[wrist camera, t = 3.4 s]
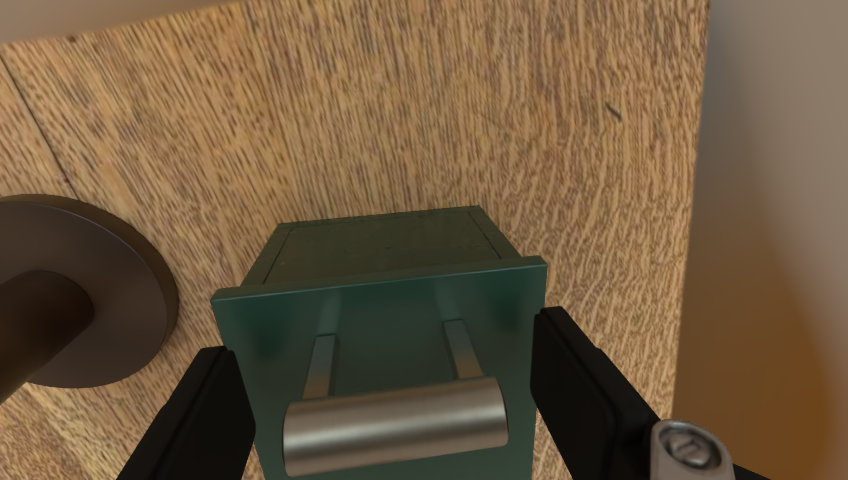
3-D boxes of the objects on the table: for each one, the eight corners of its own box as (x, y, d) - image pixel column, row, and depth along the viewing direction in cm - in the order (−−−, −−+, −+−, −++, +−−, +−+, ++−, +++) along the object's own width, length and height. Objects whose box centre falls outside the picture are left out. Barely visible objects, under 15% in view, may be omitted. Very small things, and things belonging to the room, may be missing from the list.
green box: (278, 223, 19) (224, 309, 12) (479, 205, 20) (537, 275, 13) (317, 408, 24) (295, 548, 17) (479, 386, 25) (522, 510, 18)
